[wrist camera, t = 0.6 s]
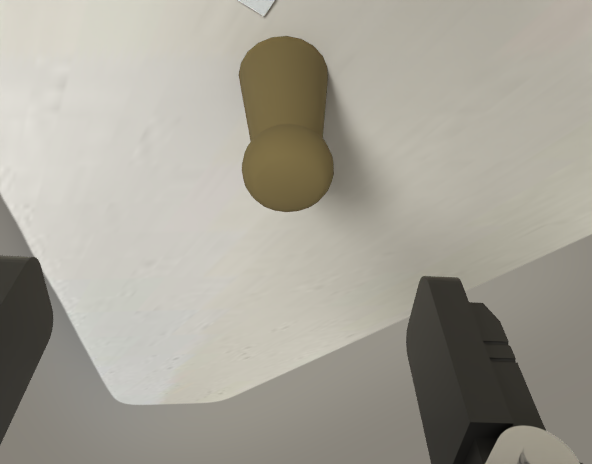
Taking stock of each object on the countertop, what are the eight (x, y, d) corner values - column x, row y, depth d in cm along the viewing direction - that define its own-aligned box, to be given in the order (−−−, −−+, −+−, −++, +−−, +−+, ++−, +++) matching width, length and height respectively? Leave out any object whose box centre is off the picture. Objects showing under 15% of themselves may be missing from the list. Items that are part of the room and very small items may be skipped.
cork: (277, 17, 35) (281, 128, 27) (346, 71, 38) (366, 184, 30) (220, 82, 38) (211, 196, 31) (288, 127, 41) (294, 241, 34)
